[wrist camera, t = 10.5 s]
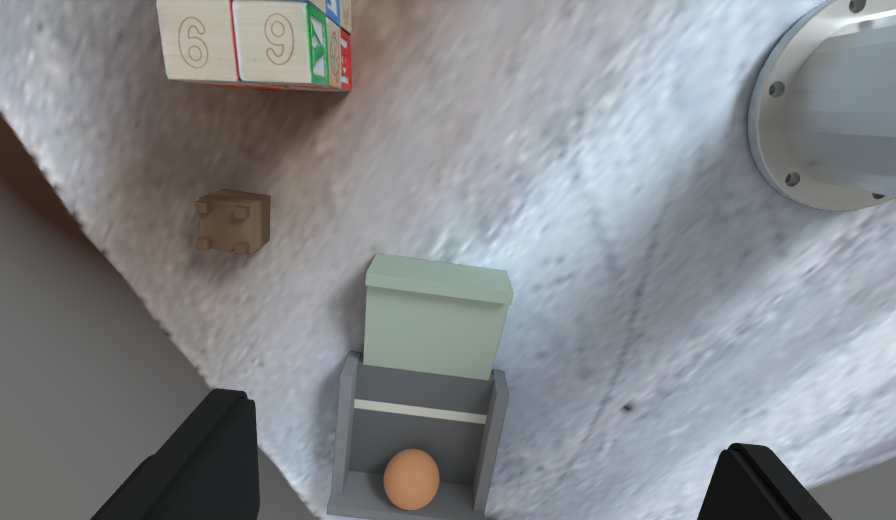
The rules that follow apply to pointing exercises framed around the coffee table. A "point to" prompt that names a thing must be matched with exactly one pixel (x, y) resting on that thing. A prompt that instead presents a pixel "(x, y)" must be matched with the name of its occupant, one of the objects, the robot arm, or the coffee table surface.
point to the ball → (411, 479)
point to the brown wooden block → (233, 221)
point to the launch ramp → (434, 316)
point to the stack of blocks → (258, 43)
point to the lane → (415, 438)
